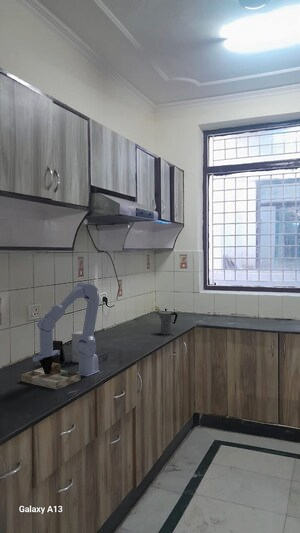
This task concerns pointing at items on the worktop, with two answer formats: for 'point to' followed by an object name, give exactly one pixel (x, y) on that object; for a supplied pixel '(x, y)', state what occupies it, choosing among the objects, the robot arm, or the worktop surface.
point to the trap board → (51, 378)
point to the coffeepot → (166, 321)
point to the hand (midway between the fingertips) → (46, 373)
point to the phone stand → (61, 357)
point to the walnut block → (55, 369)
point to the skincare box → (74, 342)
